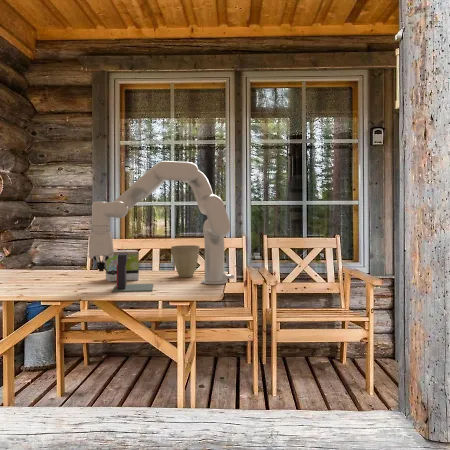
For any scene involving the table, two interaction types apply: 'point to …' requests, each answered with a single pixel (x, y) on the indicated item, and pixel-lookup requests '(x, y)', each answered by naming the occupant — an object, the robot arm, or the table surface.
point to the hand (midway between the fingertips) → (101, 271)
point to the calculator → (121, 270)
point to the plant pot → (185, 259)
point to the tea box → (131, 265)
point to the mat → (134, 288)
